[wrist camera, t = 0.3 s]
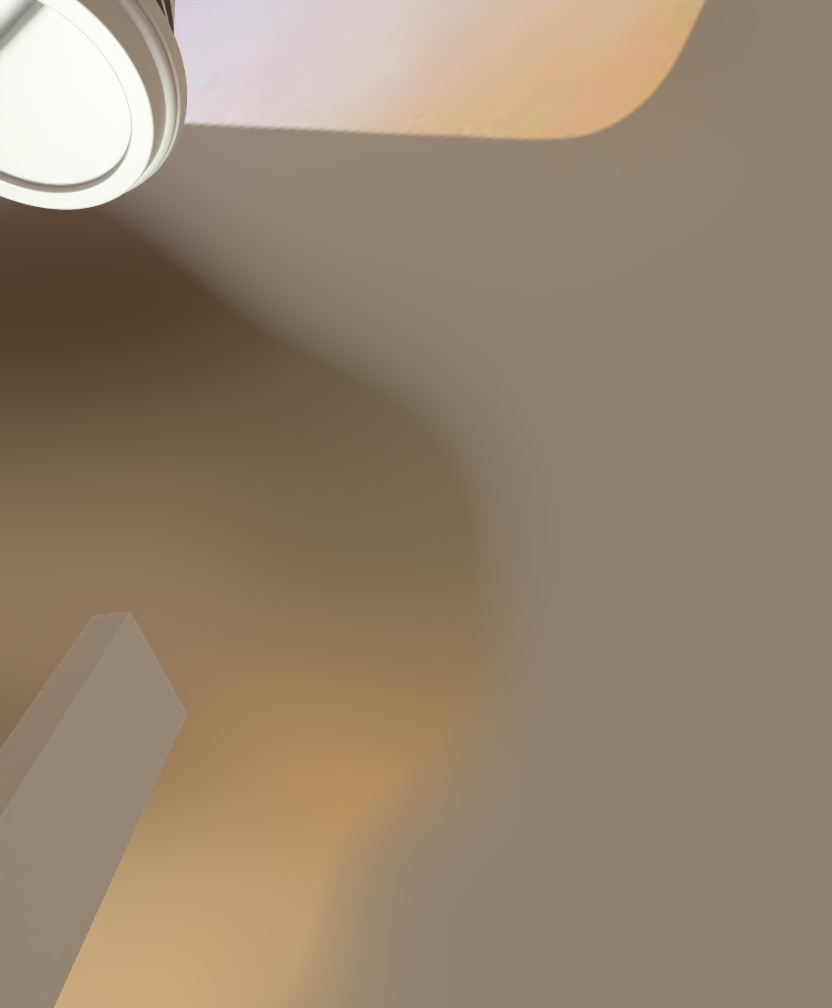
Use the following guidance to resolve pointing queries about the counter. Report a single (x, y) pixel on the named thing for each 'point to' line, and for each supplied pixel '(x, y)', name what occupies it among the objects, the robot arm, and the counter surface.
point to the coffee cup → (86, 98)
